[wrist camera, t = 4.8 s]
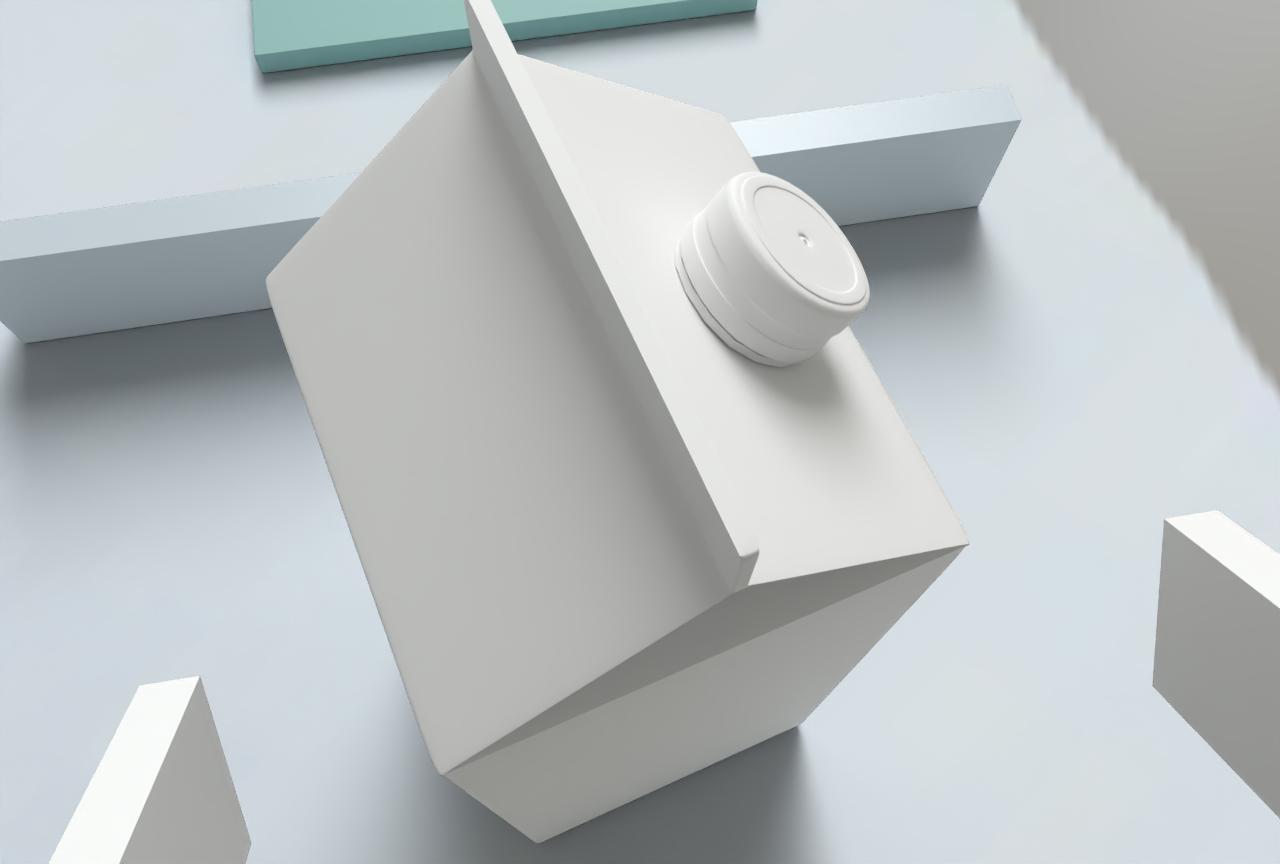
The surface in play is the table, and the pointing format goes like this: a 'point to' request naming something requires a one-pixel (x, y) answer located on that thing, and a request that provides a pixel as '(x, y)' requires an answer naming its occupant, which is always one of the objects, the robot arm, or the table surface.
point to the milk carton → (601, 435)
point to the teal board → (437, 24)
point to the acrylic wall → (283, 213)
